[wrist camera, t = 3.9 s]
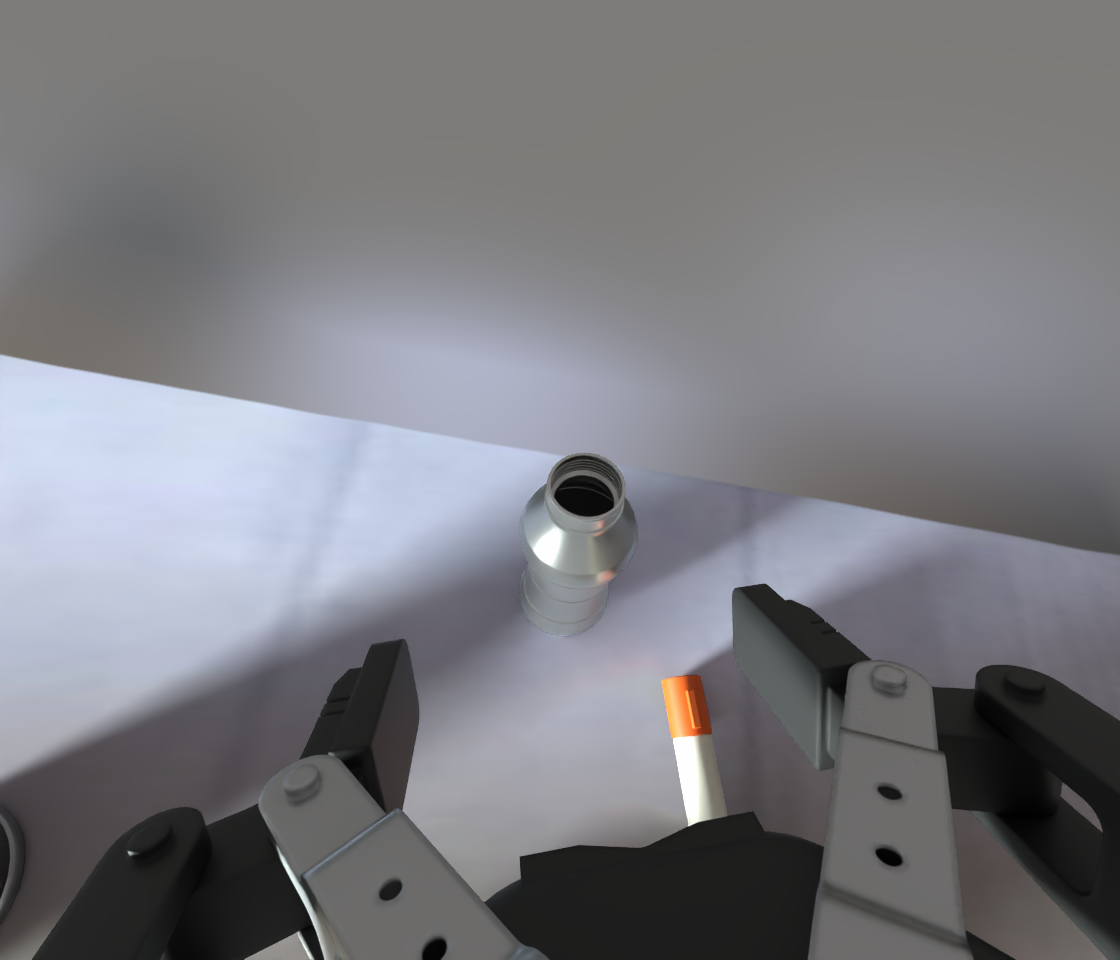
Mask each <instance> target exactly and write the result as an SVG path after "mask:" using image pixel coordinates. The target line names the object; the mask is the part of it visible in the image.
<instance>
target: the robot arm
mask: <svg viewBox="0 0 1120 960" xmlns="http://www.w3.org/2000/svg"><path fill="white" fill-rule="evenodd" d="M732 615H733V647H734V653H735V657H736V660H737V662H738V665H739V667H740V669H741V670H742V672H743V673H744V674H745V676H746V677H747V678H748V680H749V681H750V682H751V684H752V685H753V686H754V688H755V689H756V690H757V692H758V693H759V694H760V696H761V697H762V698H763V700H764V701H765V702H766V704H767V705H768V706H769V708H770V709H771V710H772V712H773V713H774V714H775V715H776V717H777V718H778V719H779V721H780V722H781V723H782V725H783V726H784V727H785V729H786V730H787V731H788V733H789V734H790V735H791V737H792V738H793V739H794V741H795V742H796V743H797V745H798V746H799V747H800V749H801V750H802V751H803V753H804V754H805V755H806V756H807V758H808V759H809V760H810V762H811V763H812V764H813V766H814V767H815V768H816V770H817V771H821V770H826V769H832V768H834V772H833V780H832V788H831V796H830V804H829V812H828V820H827V828H826V836H825V844H824V847H823V846H821V845H818V844H816V843H814V842H811V841H808V840H805V839H803V838H799V837H796V836H792V835H788V834H783V833H776V832H767V831H764V830H763V828H762V826H761V824H760V823H759V821H758V819H757V817H756V815H755V814H754V812H753V811H752V812H747V813H742V814H736V815H731V816H726V817H721V818H716V819H711V820H706V821H701V822H697V823H695V824H693V825H690V826H688V827H686V828H684V829H682V830H680V831H678V832H676V833H674V834H672V835H670V836H668V837H665V838H663V839H661V840H659V841H657V842H655V843H653V844H651V845H649V846H646V847H642V848H628V847H606V846H584V845H578V846H572V847H567V848H562V849H557V850H552V851H547V852H542V853H537V854H531V855H526V856H521V857H520V871H521V879H520V880H518V881H516V882H514V883H512V884H510V885H508V886H507V887H505V888H503V889H502V890H500V891H499V892H497V893H496V894H494V895H493V896H492V897H491V898H489V899H488V900H487V901H486V902H483V901H482V900H481V899H480V898H479V896H478V895H477V894H476V893H475V892H474V891H473V890H472V889H471V887H470V886H469V885H468V884H467V883H466V882H465V881H464V880H463V878H462V877H461V876H460V875H459V874H458V873H457V872H456V871H455V869H454V868H453V867H452V866H451V865H450V864H449V863H448V862H447V860H446V859H445V858H444V857H443V856H442V855H441V854H440V853H439V851H438V850H437V849H436V848H435V847H434V846H433V845H432V844H431V842H430V841H429V840H428V839H427V838H426V837H425V836H424V834H423V833H422V832H421V831H420V830H419V829H418V828H417V827H416V825H415V824H414V823H413V822H412V821H411V820H410V819H409V818H408V816H407V815H406V814H405V813H404V812H403V811H402V809H403V804H404V798H405V793H406V788H407V783H408V777H409V772H410V767H411V762H412V756H413V751H414V746H415V741H416V735H417V730H418V724H419V701H418V694H417V689H416V684H415V679H414V674H413V669H412V665H411V660H410V655H409V650H408V646H407V643H406V641H405V639H400V640H394V641H387V642H381V643H375V644H372V645H371V646H370V648H369V651H368V654H367V656H366V659H365V661H364V664H363V666H362V667H360V668H354V669H349V670H348V671H347V672H346V673H345V674H344V675H343V676H342V677H341V678H340V679H339V680H338V681H337V682H336V683H335V684H334V685H333V687H332V690H331V692H330V694H329V696H328V698H327V700H326V701H327V703H326V704H325V705H324V707H323V709H322V711H321V714H320V715H321V716H320V717H319V718H318V720H317V722H316V724H315V727H314V729H313V731H312V733H311V735H310V738H309V740H308V742H307V744H306V746H305V749H304V751H303V753H302V755H301V757H300V759H299V761H296V762H294V763H292V764H290V765H289V766H287V767H285V768H284V769H282V770H281V771H280V772H278V773H277V774H276V775H275V776H274V777H273V778H272V779H270V781H269V782H268V783H267V784H266V785H265V787H264V788H263V790H262V792H261V794H260V796H259V800H258V804H256V805H254V806H252V807H250V808H248V809H246V810H243V811H241V812H238V813H236V814H234V815H231V816H229V817H226V818H224V819H221V820H219V821H216V822H214V823H211V824H209V825H207V826H206V824H205V821H204V818H203V816H202V814H201V812H200V811H199V810H197V809H195V808H190V807H180V808H174V809H170V810H166V811H164V812H161V813H158V814H156V815H154V816H152V817H150V818H148V819H146V820H144V821H142V822H141V823H139V824H137V825H136V826H134V827H133V828H131V829H130V830H129V831H127V832H126V833H125V834H123V835H122V836H121V837H120V838H119V839H118V840H117V841H116V842H115V843H114V844H113V845H112V846H111V847H110V848H109V849H108V850H107V852H106V853H105V854H104V856H103V857H102V859H101V860H100V861H99V863H98V864H97V866H96V867H95V869H94V870H93V872H92V873H91V875H90V876H89V877H88V879H87V880H86V882H85V883H84V885H83V886H82V888H81V889H80V890H79V892H78V893H77V895H76V896H75V898H74V899H73V901H72V902H71V904H70V905H69V906H68V908H67V909H66V911H65V912H64V914H63V915H62V917H61V918H60V919H59V921H58V922H57V924H56V925H55V927H54V928H53V930H52V931H51V932H50V934H49V935H48V937H47V938H46V940H45V941H44V943H43V944H42V946H41V947H40V948H39V950H38V951H37V953H36V954H35V956H34V957H33V959H32V960H244V959H245V958H247V957H249V956H251V955H253V954H255V953H257V952H259V951H261V950H263V949H265V948H267V947H269V946H271V945H273V944H275V943H277V942H279V941H281V940H283V939H284V938H286V937H288V936H290V935H292V934H294V933H296V932H297V933H298V936H299V938H300V940H301V942H302V944H303V946H304V948H305V950H306V952H307V954H308V956H309V958H310V960H1015V959H1014V958H1012V957H1010V956H1009V955H1007V954H1005V953H1004V952H1002V951H1000V950H999V949H997V948H995V947H994V946H992V945H990V944H989V943H987V942H985V941H983V940H982V939H980V938H978V937H977V936H975V935H973V934H972V933H970V932H968V931H967V930H965V923H964V914H963V906H962V897H961V888H960V879H959V871H958V862H957V853H956V844H955V835H954V827H953V818H952V809H960V810H970V812H971V813H972V814H973V815H974V816H975V817H976V818H977V820H978V821H979V822H980V823H981V824H982V825H983V826H984V827H985V828H986V829H987V830H988V831H989V832H990V833H991V835H992V836H993V837H994V838H995V839H996V840H997V841H998V842H999V843H1000V844H1001V845H1002V846H1003V847H1004V848H1005V849H1006V851H1007V852H1008V853H1009V854H1010V855H1011V856H1012V857H1013V858H1014V859H1015V860H1016V861H1017V862H1018V863H1019V864H1020V866H1021V867H1022V868H1023V869H1024V870H1025V871H1026V872H1027V873H1028V874H1029V875H1030V876H1031V877H1032V878H1033V879H1034V881H1035V882H1036V883H1037V884H1038V885H1039V886H1040V887H1041V888H1042V889H1043V890H1044V891H1045V892H1046V893H1047V894H1048V896H1049V897H1050V898H1051V899H1052V900H1053V901H1054V902H1055V903H1056V904H1057V905H1058V906H1059V907H1060V908H1061V909H1062V911H1063V912H1064V913H1065V914H1066V915H1067V916H1068V917H1069V918H1070V919H1071V920H1072V921H1073V922H1074V923H1075V924H1076V925H1077V927H1078V928H1079V929H1080V930H1081V931H1082V932H1083V933H1084V934H1085V935H1086V936H1087V937H1088V938H1089V939H1090V940H1091V942H1092V943H1093V944H1094V945H1095V946H1096V947H1097V948H1098V949H1099V950H1100V951H1101V952H1102V953H1103V954H1104V955H1105V957H1106V958H1107V959H1108V960H1120V721H1119V720H1118V719H1116V718H1114V717H1113V716H1111V715H1110V714H1108V713H1107V712H1105V711H1104V710H1102V709H1101V708H1099V707H1098V706H1096V705H1094V704H1093V703H1091V702H1090V701H1088V700H1087V699H1085V698H1084V697H1082V696H1081V695H1079V694H1077V693H1076V692H1074V691H1073V690H1071V689H1070V688H1068V687H1067V686H1065V685H1064V684H1062V683H1060V682H1059V681H1057V680H1055V679H1054V678H1052V677H1049V676H1047V675H1045V674H1043V673H1040V672H1037V671H1034V670H1031V669H1027V668H1023V667H1018V666H1012V665H991V666H986V667H984V668H981V669H980V670H979V671H978V672H977V674H976V681H975V689H961V688H940V687H932V686H931V684H930V683H929V681H928V680H927V679H926V678H925V677H924V676H922V675H921V674H920V673H918V672H917V671H915V670H913V669H911V668H909V667H907V666H904V665H901V664H898V663H894V662H890V661H883V660H871V659H870V658H869V657H868V656H866V655H865V654H864V653H863V652H862V651H861V650H859V649H858V648H857V647H856V646H855V645H853V644H852V643H851V642H850V641H849V640H847V639H846V638H845V637H844V636H843V635H842V634H840V633H839V632H836V629H834V628H833V627H832V626H831V625H830V624H828V623H827V622H826V623H825V621H824V619H823V618H821V617H820V616H819V615H818V614H817V613H815V612H814V611H813V610H812V609H811V608H808V607H806V606H804V605H802V604H799V603H797V602H795V601H792V600H786V601H785V600H784V599H783V598H782V597H781V596H779V595H778V594H777V593H776V592H775V591H774V590H773V589H772V588H770V587H769V586H768V585H767V584H758V585H752V586H745V587H739V588H735V589H734V591H733V594H732ZM1063 782H1064V783H1065V784H1066V785H1067V786H1068V787H1070V788H1071V789H1072V790H1073V791H1074V792H1076V793H1077V794H1078V795H1079V796H1080V797H1082V798H1083V799H1084V800H1085V801H1086V802H1087V803H1088V804H1089V805H1090V806H1091V808H1092V809H1093V810H1094V812H1095V813H1096V815H1097V817H1098V819H1099V821H1100V823H1101V826H1102V830H1103V833H1102V832H1101V831H1100V830H1099V829H1097V828H1096V827H1095V826H1094V825H1093V824H1092V823H1090V822H1089V821H1088V820H1087V819H1086V818H1085V817H1083V816H1082V815H1081V814H1080V813H1079V812H1078V811H1076V810H1075V809H1074V808H1073V807H1072V806H1071V805H1070V804H1068V803H1067V802H1066V801H1065V800H1064V799H1063V798H1061V797H1060V795H1061V789H1062V783H1063ZM24 860H25V849H24V841H23V836H22V833H21V830H20V828H19V826H18V824H17V822H16V821H15V819H14V818H13V817H12V816H11V815H10V814H9V813H8V812H7V811H5V810H4V809H2V808H1V807H0V924H1V922H2V921H3V919H4V917H5V916H6V914H7V912H8V910H9V908H10V907H11V905H12V902H13V900H14V898H15V896H16V893H17V891H18V888H19V885H20V881H21V878H22V873H23V868H24Z"/></svg>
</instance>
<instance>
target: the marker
mask: <svg viewBox="0 0 1120 960" xmlns="http://www.w3.org/2000/svg"><path fill="white" fill-rule="evenodd" d="M662 685H663V691H664V697H665V702H666V708H667V714H668V720H669V725H670V731H671V737H672V738H674V739H673V740H674V746H675V751H676V757H677V763H678V769H679V774H680V780H681V786H682V791H683V797H684V803H685V809H686V814H687V820H688V826H690V825H693V824H695V823H697V822H701V821H706V820H711V819H716V818H721V817H726V816H728V814H727V809H726V805H725V800H724V795H723V790H722V785H721V780H720V775H719V770H718V766H717V761H716V756H715V751H714V746H713V741H712V736H711V734H712V729H711V724H710V719H709V714H708V709H707V705H706V700H705V695H704V690H703V685H702V680H701V676H700V675H686V676H678V677H672V678H667V679H664V680H662Z"/></svg>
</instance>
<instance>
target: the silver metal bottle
mask: <svg viewBox="0 0 1120 960" xmlns="http://www.w3.org/2000/svg"><path fill="white" fill-rule="evenodd" d="M625 493H626V488H625V481H624V477H623V475H622V473H621V472H620V470H619V469H618V468H617V466H616V465H614V464H613V463H612V462H611V461H609V460H608V459H606V458H604V457H602V456H599V455H596V454H592V453H577V454H573V455H569V456H567V457H565V458H563V459H561V460H560V461H559V462H558V463H557V464H556V465H555V466H554V467H553V468H552V470H551V472H550V474H549V477H548V480H547V484H545V485H544V486H543V487H541V488H540V489H539V490H538V491H537V492H536V493H535V494H534V495H533V496H532V498H531V499H530V500H529V501H528V502H527V504H526V506H525V508H524V510H523V512H522V515H521V519H520V526H519V533H520V540H521V545H522V549H523V552H524V554H525V557H526V559H527V561H528V565H527V567H526V569H525V571H524V573H523V575H522V578H521V581H520V585H519V597H520V603H521V605H522V608H523V610H524V612H525V614H526V615H527V617H528V618H529V619H530V620H531V622H532V623H533V624H534V625H535V626H537V627H538V628H539V629H541V630H542V631H544V632H547V633H549V634H552V635H556V636H571V635H575V634H578V633H581V632H583V631H586V630H587V629H589V628H591V627H592V626H593V625H594V624H595V623H597V622H598V621H599V619H600V618H601V616H602V615H603V614H604V611H605V609H606V607H607V602H608V595H609V585H608V583H609V582H610V581H611V580H612V579H613V578H615V577H616V576H617V575H618V574H619V573H620V572H621V571H622V570H623V569H624V567H625V566H626V565H627V564H628V562H629V561H630V559H631V558H632V556H633V554H634V551H635V549H636V545H637V539H638V529H637V524H636V520H635V516H634V512H633V510H632V508H631V506H630V504H629V502H628V501H627V499H626V498H625Z"/></svg>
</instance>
